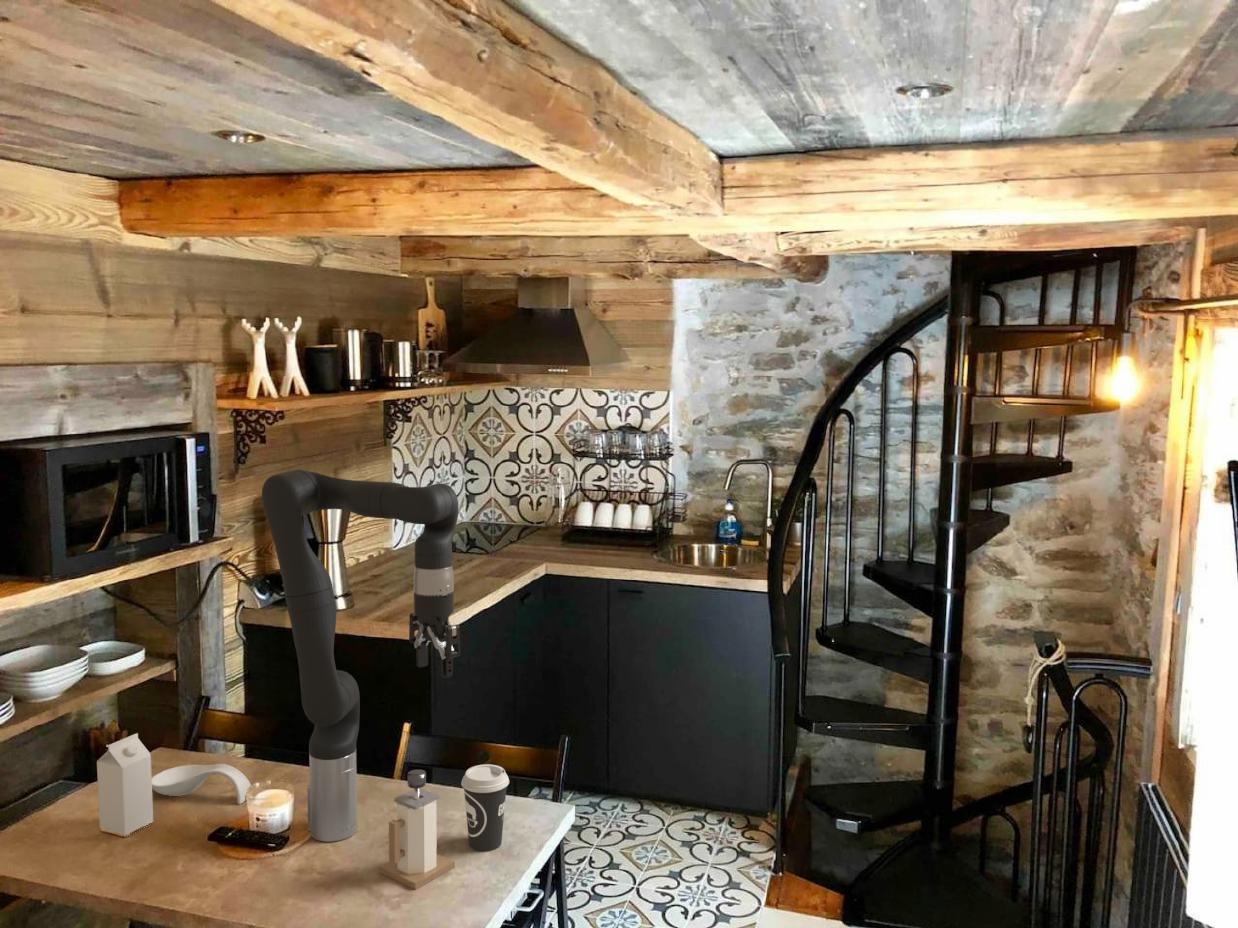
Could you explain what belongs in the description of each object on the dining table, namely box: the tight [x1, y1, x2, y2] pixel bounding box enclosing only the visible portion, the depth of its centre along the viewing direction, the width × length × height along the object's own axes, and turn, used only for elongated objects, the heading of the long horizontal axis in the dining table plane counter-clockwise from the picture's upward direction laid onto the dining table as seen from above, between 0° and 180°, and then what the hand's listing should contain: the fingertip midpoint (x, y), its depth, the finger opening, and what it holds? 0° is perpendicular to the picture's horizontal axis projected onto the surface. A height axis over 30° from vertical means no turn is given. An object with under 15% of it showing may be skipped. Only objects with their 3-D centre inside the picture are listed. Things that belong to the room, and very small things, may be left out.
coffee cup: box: [460, 763, 510, 852], centre depth 199 cm, size 10×10×15 cm
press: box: [379, 787, 456, 890], centre depth 188 cm, size 10×11×15 cm
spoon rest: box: [152, 763, 252, 805], centre depth 220 cm, size 24×12×7 cm, turn 76°
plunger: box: [407, 769, 427, 800], centre depth 188 cm, size 5×5×14 cm
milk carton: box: [96, 732, 154, 835], centre depth 204 cm, size 7×7×19 cm
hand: (434, 671), depth 190 cm, fingers open, 8 cm apart
